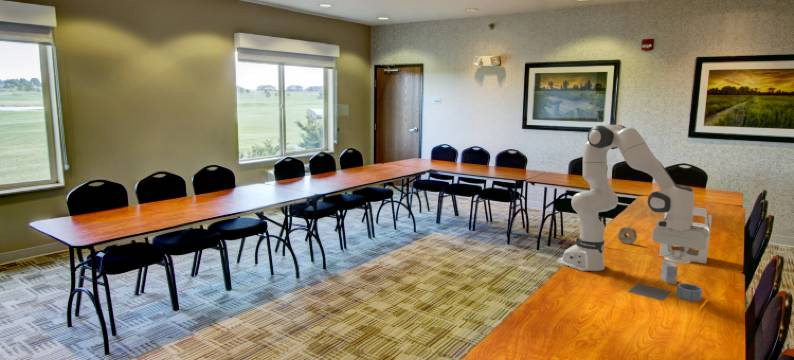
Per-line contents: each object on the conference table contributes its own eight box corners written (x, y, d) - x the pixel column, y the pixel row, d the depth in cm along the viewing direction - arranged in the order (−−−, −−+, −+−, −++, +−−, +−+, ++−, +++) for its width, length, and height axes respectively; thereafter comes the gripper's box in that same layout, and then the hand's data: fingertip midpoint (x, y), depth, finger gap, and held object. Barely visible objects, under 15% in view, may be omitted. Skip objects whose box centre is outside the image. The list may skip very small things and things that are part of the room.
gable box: (707, 257, 274) (713, 206, 270) (706, 264, 263) (712, 211, 259) (661, 250, 286) (666, 201, 282) (658, 256, 275) (664, 205, 271)
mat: (627, 292, 222) (627, 291, 222) (638, 284, 232) (638, 283, 232) (662, 301, 212) (662, 300, 212) (671, 292, 223) (671, 291, 223)
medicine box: (676, 285, 232) (678, 267, 231) (665, 284, 233) (667, 266, 231) (670, 279, 240) (672, 261, 238) (660, 278, 240) (662, 260, 239)
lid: (660, 260, 215) (661, 251, 215) (667, 255, 222) (668, 246, 222) (687, 265, 208) (688, 255, 208) (693, 260, 216) (694, 251, 215)
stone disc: (637, 244, 296) (638, 228, 295) (634, 245, 294) (635, 229, 292) (619, 240, 304) (621, 224, 302) (616, 241, 301) (618, 225, 300)
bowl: (674, 298, 216) (675, 287, 215) (679, 292, 223) (680, 281, 222) (697, 304, 210) (699, 292, 210) (702, 298, 217) (704, 287, 216)
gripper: (710, 226, 209) (707, 259, 210) (656, 219, 222) (654, 249, 224) (706, 229, 204) (703, 262, 206) (652, 221, 218) (649, 252, 220)
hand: (677, 255), depth 215 cm, fingers closed on lid, 3 cm apart
